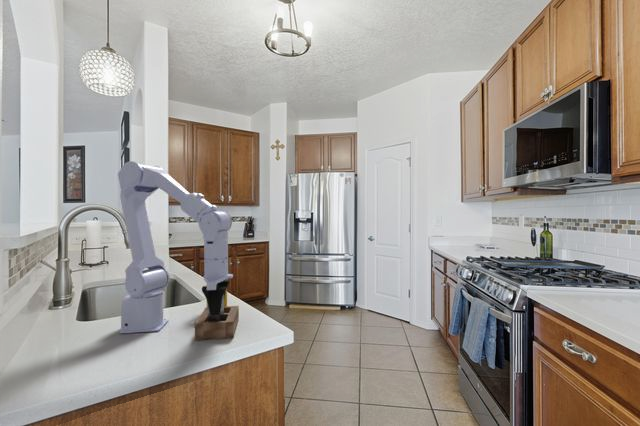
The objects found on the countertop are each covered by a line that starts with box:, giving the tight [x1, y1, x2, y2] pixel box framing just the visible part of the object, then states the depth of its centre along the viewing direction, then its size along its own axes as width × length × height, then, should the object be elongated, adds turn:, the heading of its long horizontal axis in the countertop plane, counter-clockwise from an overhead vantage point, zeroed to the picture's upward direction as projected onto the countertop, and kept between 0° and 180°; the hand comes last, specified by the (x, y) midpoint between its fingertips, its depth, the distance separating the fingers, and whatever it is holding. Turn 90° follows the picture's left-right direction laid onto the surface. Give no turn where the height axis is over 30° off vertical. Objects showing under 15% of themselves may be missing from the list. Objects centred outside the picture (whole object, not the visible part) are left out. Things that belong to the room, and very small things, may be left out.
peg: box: [206, 294, 224, 322], centre depth 78 cm, size 4×4×7 cm
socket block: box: [194, 305, 240, 342], centre depth 81 cm, size 9×13×4 cm
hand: (216, 311), depth 78 cm, fingers closed on peg, 4 cm apart
